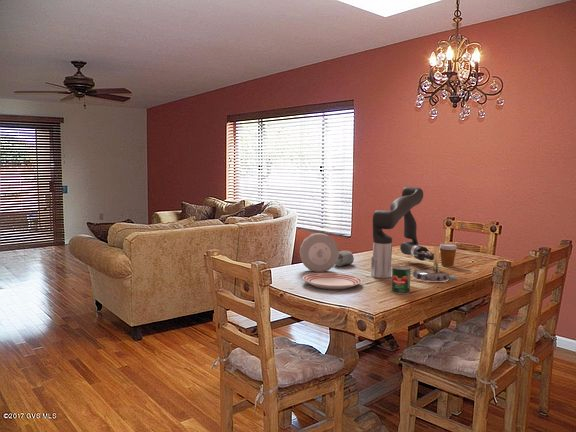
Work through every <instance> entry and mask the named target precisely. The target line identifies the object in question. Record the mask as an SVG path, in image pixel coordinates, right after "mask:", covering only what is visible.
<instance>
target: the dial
mask: <svg viewBox="0 0 576 432" xmlns="http://www.w3.org/2000/svg"><path fill="white" fill-rule="evenodd" d="M339 252H340V251H339V247H338V245H337V242H336V241H335V239H334V238H332V237H331V236H330V235H328V234H326V233H322V232H315V233H310V234H309V235H307V236H306V237H305V238H304V239H303V240H302V242H301V244H300V246H299V257H300V260H301V262H302V264H303V265H304V267H305V268H306V269H307V270H309V271H311V272H313V273H326V272H327V271H330V270H331V269H332V268H334V266H336V265H335V264H336V262H337V260H338V256H339Z"/></svg>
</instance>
